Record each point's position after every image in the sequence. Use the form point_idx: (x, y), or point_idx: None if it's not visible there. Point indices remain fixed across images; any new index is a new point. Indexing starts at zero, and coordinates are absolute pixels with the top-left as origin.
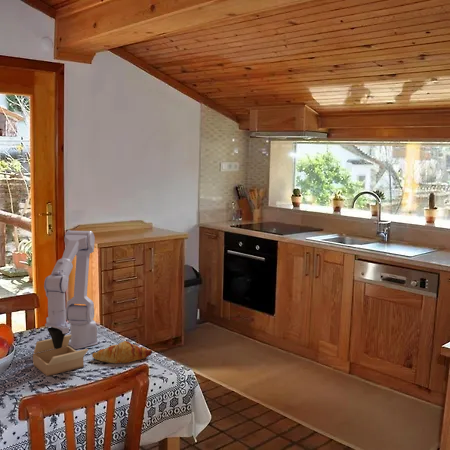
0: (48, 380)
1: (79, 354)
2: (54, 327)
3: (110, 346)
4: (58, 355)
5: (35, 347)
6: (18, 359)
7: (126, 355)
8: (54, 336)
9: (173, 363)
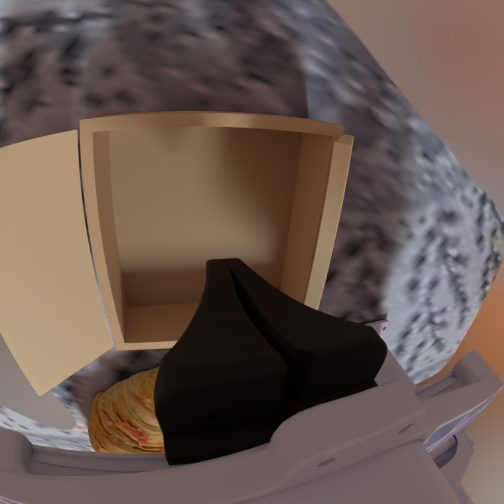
0: (48, 109)
1: (49, 342)
2: (141, 477)
3: (145, 437)
4: (291, 260)
5: (347, 138)
6: (408, 109)
7: (88, 430)
8: (180, 337)
9: (61, 448)
